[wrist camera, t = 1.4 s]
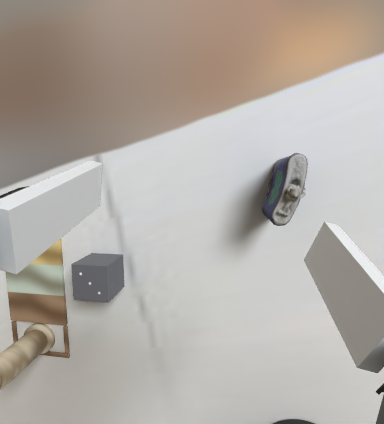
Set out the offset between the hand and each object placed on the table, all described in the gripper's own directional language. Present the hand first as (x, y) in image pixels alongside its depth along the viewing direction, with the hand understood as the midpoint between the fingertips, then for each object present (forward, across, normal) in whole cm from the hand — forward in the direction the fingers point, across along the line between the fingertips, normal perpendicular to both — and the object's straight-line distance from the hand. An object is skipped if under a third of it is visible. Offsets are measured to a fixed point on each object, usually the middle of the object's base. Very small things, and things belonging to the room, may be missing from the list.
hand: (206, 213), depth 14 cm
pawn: (+16, +24, +43) cm, 52 cm away
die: (+20, +14, +26) cm, 36 cm away
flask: (+25, -11, +4) cm, 27 cm away
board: (+19, +27, +34) cm, 47 cm away
